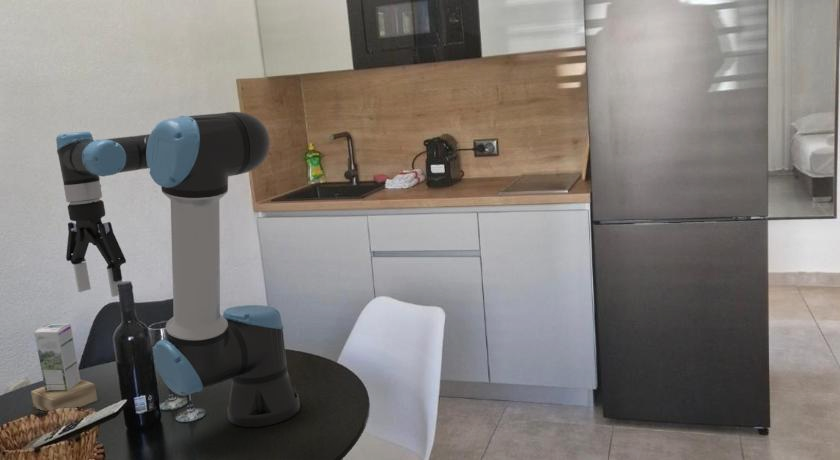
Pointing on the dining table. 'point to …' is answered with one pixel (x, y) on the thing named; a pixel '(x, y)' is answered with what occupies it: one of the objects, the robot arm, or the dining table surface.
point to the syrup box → (57, 357)
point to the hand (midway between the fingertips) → (101, 292)
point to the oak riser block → (64, 397)
